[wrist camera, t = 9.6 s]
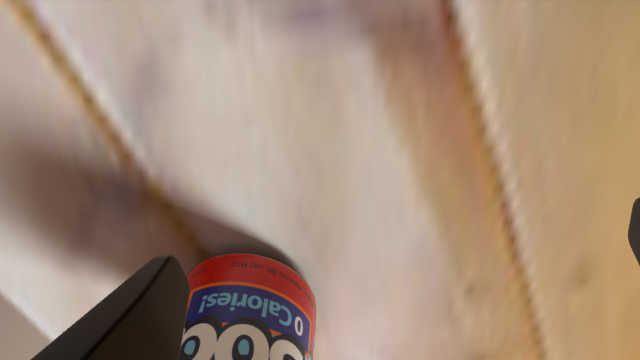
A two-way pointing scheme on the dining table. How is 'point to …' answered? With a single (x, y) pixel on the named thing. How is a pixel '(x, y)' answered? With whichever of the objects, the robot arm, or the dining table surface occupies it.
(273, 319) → the soda can
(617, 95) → the dining table surface
